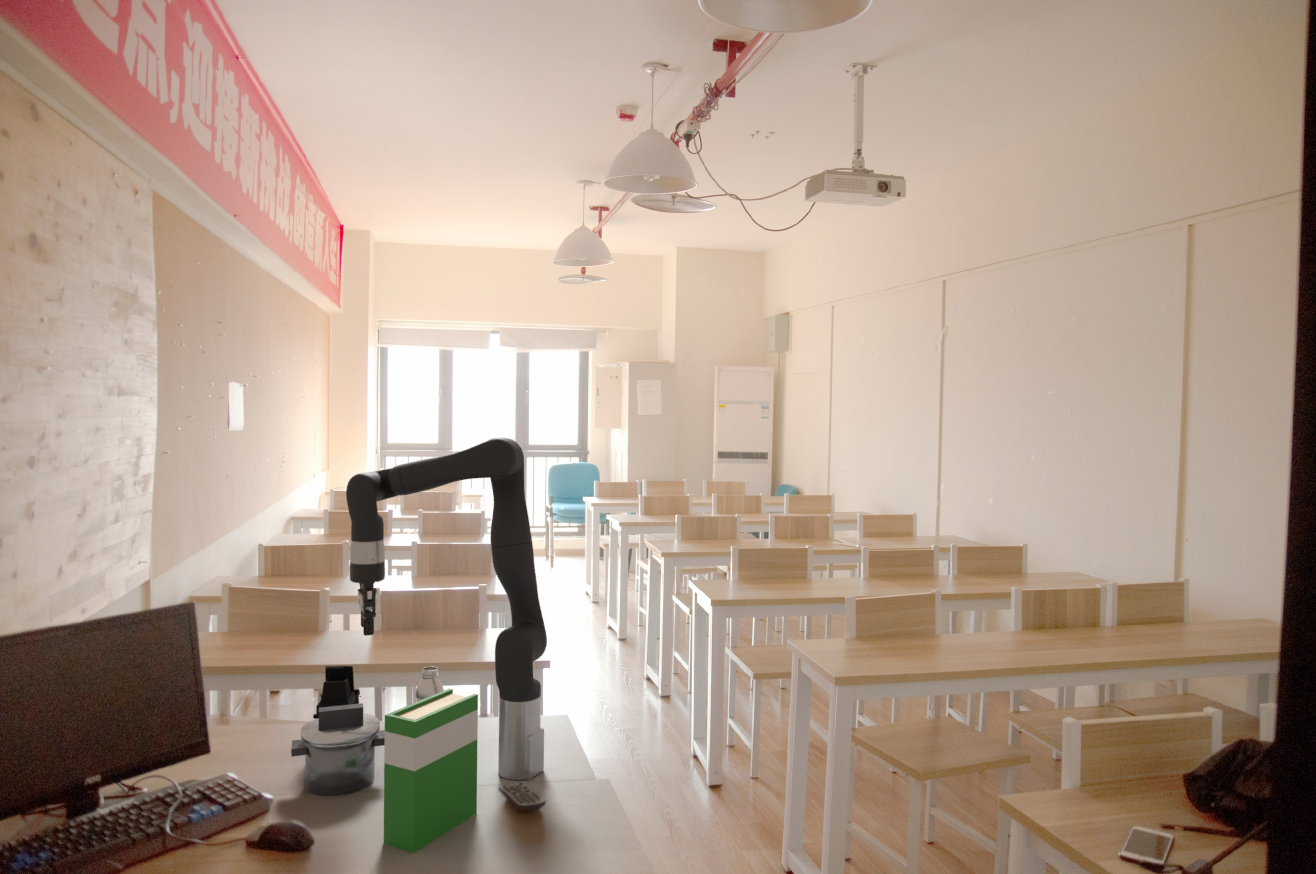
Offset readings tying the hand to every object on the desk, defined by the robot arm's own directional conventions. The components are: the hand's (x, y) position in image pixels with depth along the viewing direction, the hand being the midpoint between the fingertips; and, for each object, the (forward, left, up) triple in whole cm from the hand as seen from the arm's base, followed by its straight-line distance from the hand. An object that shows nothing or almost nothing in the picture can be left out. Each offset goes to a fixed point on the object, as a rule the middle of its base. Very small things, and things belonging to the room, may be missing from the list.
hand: (367, 630), depth 192 cm
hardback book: (-33, +18, -31) cm, 49 cm away
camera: (+12, -4, -31) cm, 33 cm away
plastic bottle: (-9, -11, -31) cm, 34 cm away
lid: (-2, +10, -19) cm, 22 cm away
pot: (-2, +10, -30) cm, 32 cm away
